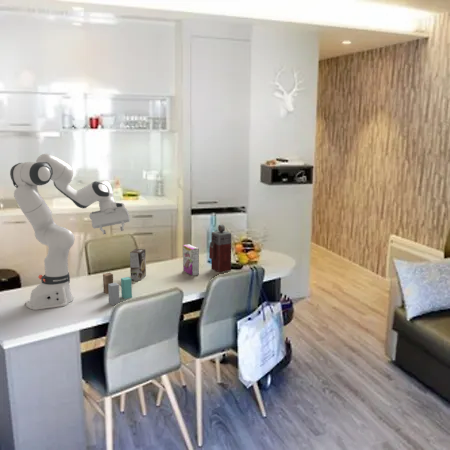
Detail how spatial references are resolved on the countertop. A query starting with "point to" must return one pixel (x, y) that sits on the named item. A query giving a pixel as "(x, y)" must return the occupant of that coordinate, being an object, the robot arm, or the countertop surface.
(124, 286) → the teal block
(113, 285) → the slate block
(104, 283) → the walnut block
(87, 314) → the countertop surface
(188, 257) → the candy bar box
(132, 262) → the coffee box
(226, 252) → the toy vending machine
